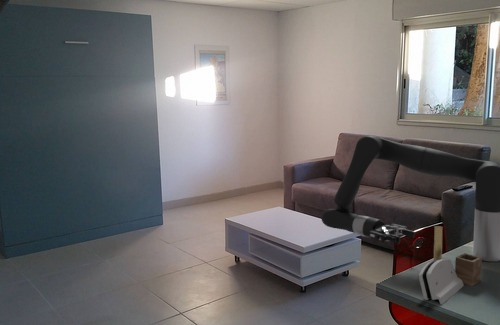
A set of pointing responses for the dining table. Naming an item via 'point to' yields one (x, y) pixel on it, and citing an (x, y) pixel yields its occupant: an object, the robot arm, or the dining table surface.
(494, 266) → the dining table surface
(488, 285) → the dining table surface
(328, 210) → the robot arm
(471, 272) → the pin block
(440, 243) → the pin
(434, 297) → the hinge
